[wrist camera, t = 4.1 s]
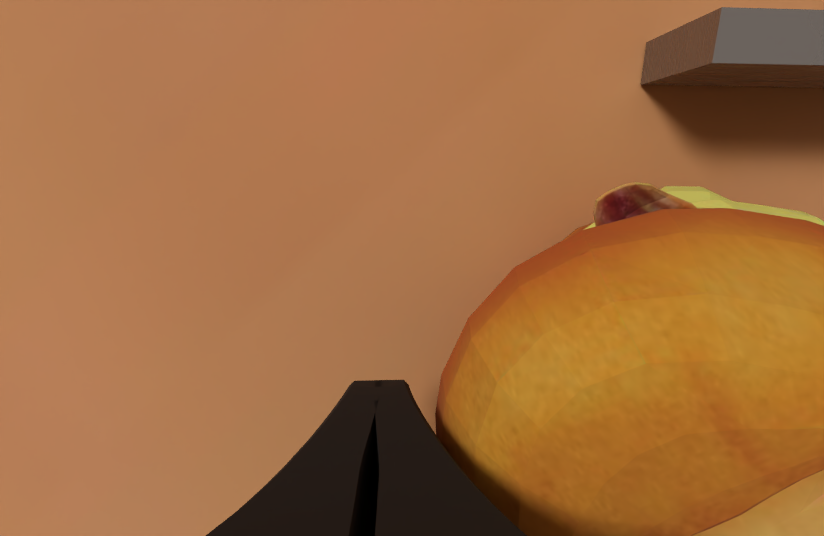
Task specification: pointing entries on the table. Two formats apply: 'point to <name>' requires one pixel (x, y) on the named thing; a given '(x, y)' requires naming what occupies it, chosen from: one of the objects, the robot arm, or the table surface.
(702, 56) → the rack
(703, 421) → the cheeseburger
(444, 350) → the table surface
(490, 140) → the table surface
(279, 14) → the table surface
